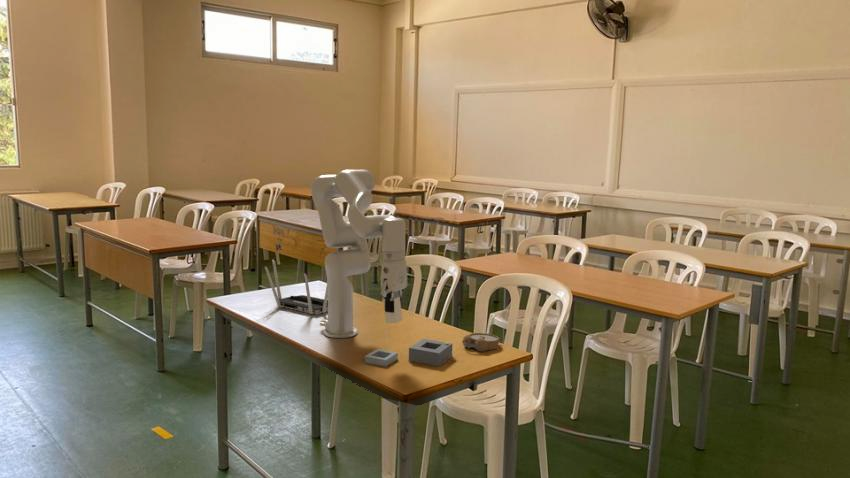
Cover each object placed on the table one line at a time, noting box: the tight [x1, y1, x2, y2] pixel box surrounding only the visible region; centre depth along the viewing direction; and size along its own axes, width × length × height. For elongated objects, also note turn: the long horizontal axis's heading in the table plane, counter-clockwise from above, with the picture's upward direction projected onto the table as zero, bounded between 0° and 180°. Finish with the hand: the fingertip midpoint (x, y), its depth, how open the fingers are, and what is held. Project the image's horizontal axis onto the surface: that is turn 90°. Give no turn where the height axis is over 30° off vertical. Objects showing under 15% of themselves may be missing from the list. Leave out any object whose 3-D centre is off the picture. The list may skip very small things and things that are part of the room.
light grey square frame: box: [364, 348, 399, 368], centre depth 210 cm, size 8×8×2 cm
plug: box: [382, 291, 403, 324], centre depth 208 cm, size 4×4×10 cm
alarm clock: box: [461, 332, 501, 353], centre depth 226 cm, size 11×5×15 cm
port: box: [408, 338, 453, 367], centre depth 213 cm, size 11×11×5 cm
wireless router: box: [264, 259, 328, 315], centre depth 268 cm, size 34×23×20 cm
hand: (393, 309), depth 208 cm, fingers closed on plug, 4 cm apart
